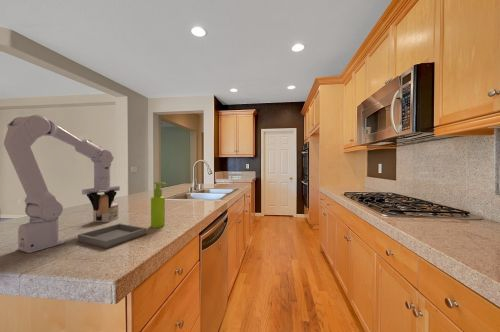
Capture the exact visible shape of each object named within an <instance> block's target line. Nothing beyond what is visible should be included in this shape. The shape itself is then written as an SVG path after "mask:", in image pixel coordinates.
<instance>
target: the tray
mask: <svg viewBox="0 0 500 332" xmlns="http://www.w3.org/2000/svg"><path fill="white" fill-rule="evenodd" d="M147 232H148V231H147V227H144V226H143V227H142V226H137V225H131V224H126V223H125V224H124V223H116V224H113V225H108V226H105V227H102V228H98V229H94V230H91V231H86V232H83V233H79V234H77V242H79V243H82V244H86V245H89V244H90V246H93V245H94V247H97V246H98V248H102V249H106V250H107V249H109V248H110V249H111V248H113V247H115V246H118V245H121V244H123V243H124V244H125V243H127V242H129V241H132V240H134V239H138V238H141V237H143V236H146V235H147Z"/></svg>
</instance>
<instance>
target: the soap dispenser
mask: <svg viewBox="0 0 500 332" xmlns="http://www.w3.org/2000/svg"><path fill="white" fill-rule="evenodd" d="M153 185H155V188H154V190H153V196H152V197H150V227H151V228H162V227H164V226H165V225H166V224H165V221H166V218H165V215H166V213H165V211H166V208H165V207H166V205H165V204H166V200H165V199H166V197H165V196H163V192H162V191H163V189H161V185H167V182H163V181H156V182H153Z"/></svg>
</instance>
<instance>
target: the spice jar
mask: <svg viewBox="0 0 500 332" xmlns="http://www.w3.org/2000/svg"><path fill="white" fill-rule="evenodd" d="M103 194H104V193H103ZM106 213H109V196H108V195H106V194H104V195H101V194H100V198H99V209H98V210H97V211H96V214H106Z"/></svg>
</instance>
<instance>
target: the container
mask: <svg viewBox="0 0 500 332" xmlns="http://www.w3.org/2000/svg"><path fill="white" fill-rule="evenodd" d="M100 195H104V193H103V194H102V193H100ZM92 214H93V215H92V217H93V218H92V220H93V221H92V222H93V223H110V222H113V221H114V220H116V219H117V220H118V219H119V203H115V198H114V199H113V201H112V204H111V208H109V213H106V214H96V211H95V210H93V209H92Z"/></svg>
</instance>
